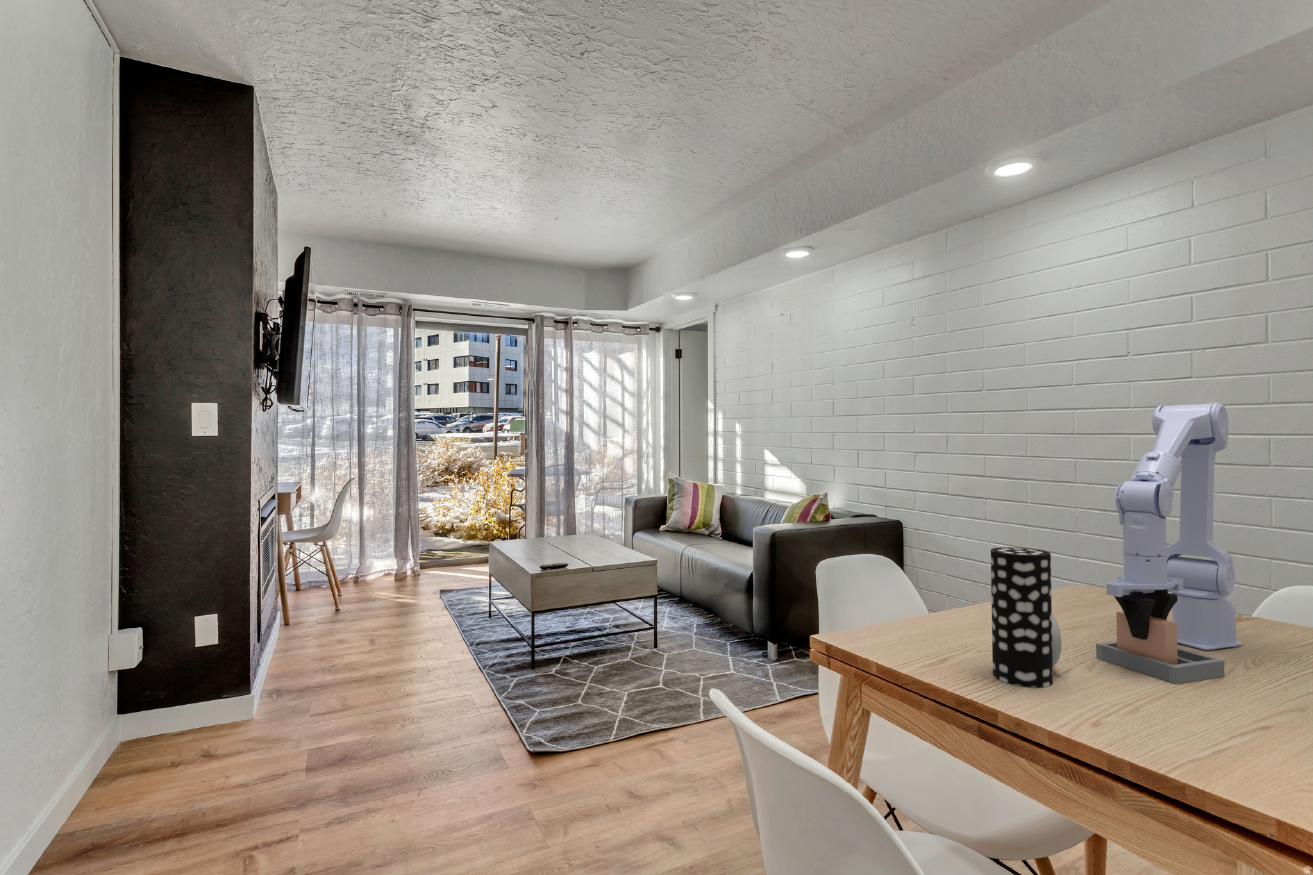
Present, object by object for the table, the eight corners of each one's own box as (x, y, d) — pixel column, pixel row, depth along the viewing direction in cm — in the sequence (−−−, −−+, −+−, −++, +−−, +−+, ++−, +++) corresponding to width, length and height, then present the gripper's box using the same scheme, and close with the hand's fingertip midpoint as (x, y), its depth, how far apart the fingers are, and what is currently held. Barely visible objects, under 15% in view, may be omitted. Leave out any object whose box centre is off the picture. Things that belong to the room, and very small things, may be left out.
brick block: (1128, 651, 111) (1127, 610, 111) (1177, 666, 103) (1176, 622, 103) (1117, 653, 110) (1116, 611, 110) (1166, 668, 102) (1165, 624, 102)
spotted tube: (980, 673, 105) (978, 549, 105) (1017, 666, 108) (1015, 545, 108) (1027, 691, 97) (1025, 557, 98) (1065, 682, 100) (1063, 553, 101)
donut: (1066, 678, 103) (1065, 614, 103) (1042, 676, 103) (1041, 613, 103) (1040, 657, 112) (1039, 599, 112) (1018, 656, 113) (1017, 599, 113)
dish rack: (1141, 651, 115) (1141, 637, 115) (1224, 676, 103) (1224, 660, 103) (1096, 657, 112) (1096, 643, 112) (1176, 684, 99) (1175, 667, 99)
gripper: (1152, 548, 113) (1153, 626, 113) (1088, 552, 108) (1089, 634, 108) (1196, 554, 106) (1198, 638, 106) (1130, 559, 102) (1131, 646, 102)
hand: (1146, 637), depth 107 cm, fingers closed on brick block, 2 cm apart
